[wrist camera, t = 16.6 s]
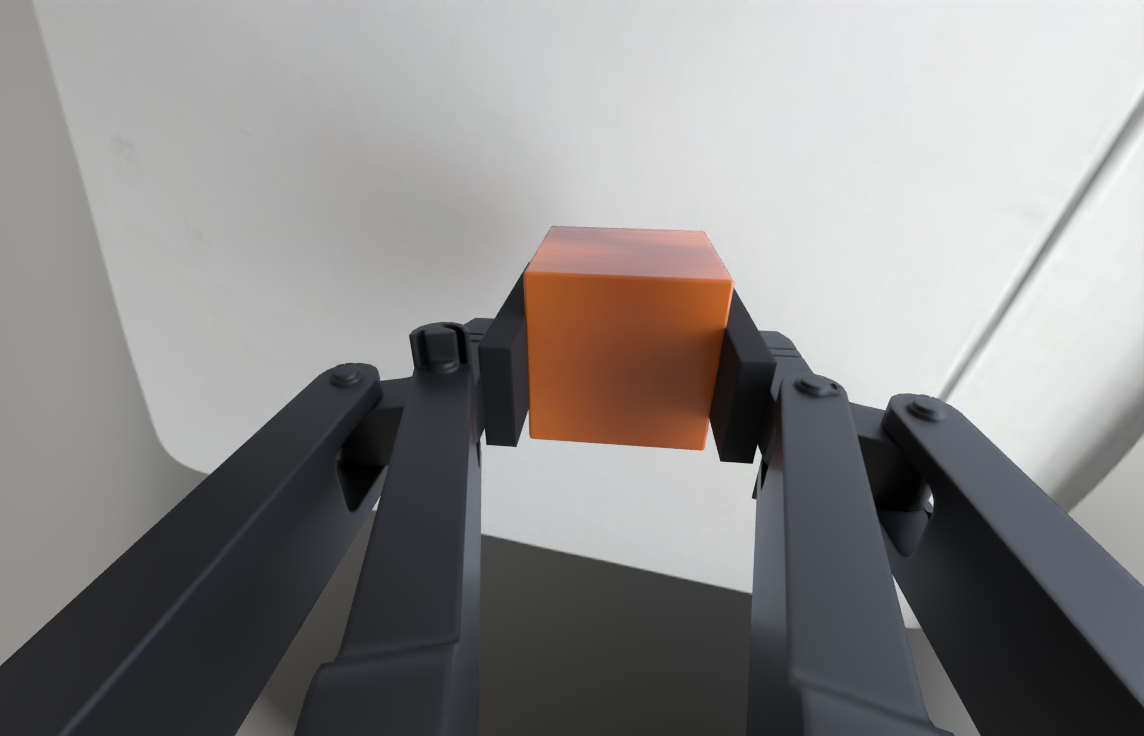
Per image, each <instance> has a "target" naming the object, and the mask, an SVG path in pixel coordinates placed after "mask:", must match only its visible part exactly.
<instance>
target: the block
mask: <svg viewBox="0 0 1144 736" xmlns="http://www.w3.org/2000/svg"><path fill="white" fill-rule="evenodd" d="M523 278H524V304H525V317H526V335H527V362H528V389H529V409H528V410H529V435H530V438H532V439H545V440H559V441H573V442H588V443H602V444H617V445H631V446H645V447H660V448H674V449H689V450H704V448H705V443H706V438H707V432H708V427H709V421H710V419H709V417H710V411H711V406H712V400H713V395H714V389H715V383H716V378H717V372H718V367H719V361H720V355H721V350H722V344H723V339H724V333H725V327H726V326H727V321H728V315H729V310H730V304H731V298H732V293H733V287H734V281H733V279H732V277H731V276H730V274H729V272H728V270H727V269H726V267H725V265H724V264H723V262H722V260H721V259H720V257H719V255H718V254H717V252H716V250H715V249H714V247H713V245H712V244H711V242H710V240H709V239H708V237H707V235H706V233H705V232H703V231H685V230H655V229H626V228H596V227H567V226H552V227H551V228H550V230H549V231H548V233H547V235H546V236H545V238H544V240H543V241H542V243H541V245H540V247H539V248H538V250H537V252H536V253H535V255H534V257H533V258H532V260H531V262H530V263H529V265H528V267H527V268H526V270H525V272H524V274H523Z"/></svg>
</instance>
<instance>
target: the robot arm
mask: <svg viewBox="0 0 1144 736" xmlns="http://www.w3.org/2000/svg"><path fill="white" fill-rule="evenodd" d="M529 263H530V262H529ZM529 263H528V264H527V266H526V268H527V267H528V265H529ZM526 268H525V269H524V271H523V273H522V274H521V276H520V278H519V279H518V281H517V283H516V284H515V286H514V288H513V289H512V291H511V292H510V294H509V296H508V297H507V299H506V301H505V302H504V304H503V306H502V307H501V309H500V311H499V312H498V314H497V316H496V317H495V319H489V318H475V319H473V320H471V321H469V322H468V323H466V324H464V325H462V324H458V323H453V322H439V323H431V324H427V325H424V326H420V327H419V328H417V329H415V330H413V331H412V332H411V334H410V335H409V338H410V344H411V350H412V356H413V362H414V372H413V375H412V377H408V378H402V379H393V380H384V381H380V377H379V372H378V370H377V368H376V367H374V366H372V365H370V364H364V363H345V365H344V364H341V365H337V366H336V367H334V368H331V369H329V370H326V371H325V372H323V373H322V374H320V375H319V376H318V377H317V378H315V379H314V380H313V381H312V382H311V383H310V384H309V385H308V386H307V387H306V388H305V389H303V390H302V391H301V392H300V393H299V394H298V395H297V396H296V397H295V398H294V399H292V400H291V401H290V402H289V403H288V404H287V405H286V406H285V407H284V408H283V409H282V410H280V411H279V412H278V413H277V414H276V415H275V416H274V417H273V418H272V419H271V420H269V421H268V422H267V423H266V424H265V425H264V426H263V427H262V428H261V429H260V430H258V431H257V432H256V433H255V434H254V435H253V436H252V437H251V438H250V439H249V440H248V441H246V442H245V443H244V444H243V445H242V446H241V447H240V448H239V449H238V450H237V451H235V452H234V453H233V454H232V455H231V456H230V457H229V458H228V459H227V460H226V461H225V462H223V463H222V464H221V465H220V466H219V467H218V468H217V469H216V470H215V471H214V472H212V473H211V474H210V475H209V476H208V477H207V478H206V479H205V480H204V481H203V482H201V484H199V485H198V486H197V487H196V488H195V489H194V490H193V491H192V492H191V493H189V494H188V495H187V496H186V497H185V498H184V499H183V500H182V501H181V502H180V503H178V504H177V505H176V506H175V507H174V508H173V509H172V510H171V511H170V512H169V513H168V514H166V515H165V516H164V517H163V518H162V519H161V520H160V521H159V522H158V523H157V524H156V525H154V527H152V528H151V529H150V530H149V531H148V532H147V533H146V534H145V535H143V536H142V537H141V538H140V539H139V540H138V541H137V542H136V543H135V544H134V545H133V546H131V547H130V548H129V549H128V550H127V551H126V552H125V553H124V554H123V555H121V556H120V557H119V558H118V559H117V560H116V561H115V562H114V563H113V564H112V565H111V566H109V568H107V569H106V570H105V571H104V572H103V573H102V574H101V575H100V576H99V577H97V578H96V579H95V580H94V581H93V582H92V583H91V584H90V585H89V586H88V587H86V588H85V589H84V590H83V591H82V592H81V593H80V594H79V595H78V596H77V597H76V598H74V599H73V600H72V601H71V602H70V603H69V604H68V605H67V606H66V607H64V608H63V609H62V610H61V611H60V612H59V613H58V614H57V615H56V616H55V617H54V618H52V620H50V621H49V622H48V623H47V624H46V625H45V626H44V627H43V628H42V629H40V630H39V631H38V632H37V633H36V634H35V635H34V636H33V637H32V638H31V639H30V640H28V641H27V642H26V643H25V644H24V645H23V646H22V647H21V648H20V649H18V650H17V651H16V652H15V653H14V654H13V655H12V656H11V657H10V658H9V659H7V660H6V661H5V662H4V663H3V664H2V665H1V666H0V736H235V734H236V733H237V731H238V729H239V728H240V726H241V725H242V723H243V721H244V719H245V718H246V716H247V715H248V713H249V711H250V710H251V708H252V706H253V705H254V703H255V701H256V700H257V698H258V697H259V695H260V693H261V691H262V690H263V688H264V686H265V685H266V683H267V682H268V680H269V678H270V677H271V675H272V673H273V672H274V670H275V668H276V667H277V665H278V664H279V662H280V660H281V658H282V657H283V655H284V654H285V652H286V650H287V649H288V647H289V645H290V644H291V642H292V640H293V639H294V637H295V635H296V634H297V632H298V630H299V629H300V627H301V626H302V624H303V622H304V621H305V619H306V617H307V616H308V614H309V612H310V611H311V609H312V607H313V606H314V604H315V603H316V601H317V599H318V598H319V596H320V594H321V593H322V591H323V589H324V587H325V586H326V584H327V582H328V581H329V579H330V578H331V576H332V574H333V573H334V571H335V570H336V568H337V566H338V564H339V563H340V561H341V560H342V558H343V556H344V555H345V553H346V551H347V550H348V548H349V546H350V545H351V543H352V541H353V540H354V538H355V537H356V535H357V533H358V532H359V530H360V528H361V526H362V525H363V523H364V522H365V520H366V518H367V517H368V515H369V513H370V512H371V510H372V509H373V507H374V505H375V504H376V502H377V500H378V499H379V497H380V495H381V497H380V500H379V504H378V508H377V512H376V516H375V519H374V523H373V527H372V531H371V534H370V539H369V542H368V546H367V550H366V554H365V557H364V561H363V565H362V569H361V573H360V576H359V580H358V584H357V587H356V591H355V595H354V599H353V603H352V606H351V610H350V614H349V618H348V622H347V625H346V629H345V633H344V637H343V641H342V644H341V647H340V650H339V653H338V655H337V657H336V658H335V660H334V661H333V662H328V663H323V664H321V666H320V667H319V669H318V670H317V671H316V673H315V674H314V676H313V678H312V681H311V683H310V686H309V689H308V691H307V694H306V697H305V700H304V703H303V707H302V710H301V713H300V717H299V720H298V723H297V727H296V730H295V733H294V736H478V729H479V728H478V726H479V723H478V722H479V638H480V636H479V634H480V633H479V632H480V546H481V542H480V541H481V443H480V437H481V435H482V433H483V431H484V428H485V434H486V445H497V446H511V447H517V443H518V440H519V437H520V434H521V431H522V428H523V425H524V421H525V418H526V415H527V412H528V409H529V389H528V362H527V335H526V317H525V304H524V278H523V274H524V272H525V270H526ZM709 419H710V423H711V427H712V431H713V435H714V439H715V442H716V446H717V450H718V454H719V458H720V461H722V462H736V463H750V464H753V460H754V456H755V452H756V448H757V444H758V447H759V449H760V452H761V454H762V459H761V463H760V467H759V471H758V475H757V479H756V483H755V487H754V491H753V495H752V498H753V499H757V504H756V526H755V549H754V571H753V593H752V617H751V638H750V663H749V683H748V705H747V706H748V707H747V728H746V736H954V734H953V733H951V732H948V731H945V730H943V729H940V728H937V727H935V726H934V725H933V723H932V722H931V721H930V719H929V717H928V714H927V711H926V709H925V705H924V701H923V697H922V693H921V689H920V686H919V682H918V677H917V673H916V669H915V665H914V661H913V657H912V653H911V649H910V645H909V641H908V637H907V633H906V629H905V625H904V621H903V617H902V613H901V609H900V605H899V601H898V597H897V593H896V589H895V585H894V581H893V577H892V574H893V576H894V578H895V580H896V582H897V583H898V585H899V587H900V589H901V591H902V593H903V594H904V596H905V598H906V600H907V602H908V604H909V605H910V607H911V609H912V611H913V613H914V615H915V616H916V618H917V620H918V622H919V624H920V626H921V627H922V629H923V631H924V633H925V635H926V636H927V638H928V640H929V642H930V644H931V646H932V647H933V649H934V651H935V653H936V655H937V657H938V658H939V660H940V662H941V664H942V665H943V668H944V669H945V671H946V673H947V675H948V677H949V678H950V680H951V682H952V684H953V686H954V688H955V689H956V691H957V693H958V695H959V697H960V699H961V700H962V702H963V704H964V706H965V708H966V710H967V711H968V713H969V715H970V717H971V719H972V721H973V722H974V724H975V726H976V728H977V730H978V732H979V733H980V735H981V736H1144V587H1143V585H1142V584H1140V583H1139V582H1138V581H1137V580H1136V579H1135V578H1134V577H1133V576H1132V575H1131V574H1130V573H1129V572H1128V571H1127V570H1126V569H1125V568H1124V567H1123V566H1122V565H1120V564H1119V563H1118V562H1117V561H1116V560H1115V559H1114V558H1113V557H1112V556H1111V555H1110V554H1109V553H1108V552H1107V551H1106V550H1105V549H1104V548H1103V547H1102V546H1101V545H1099V544H1098V543H1097V542H1096V541H1095V540H1094V539H1093V538H1092V537H1091V536H1090V535H1089V534H1088V533H1087V532H1086V531H1085V530H1084V529H1083V528H1082V527H1081V526H1080V525H1078V524H1077V523H1076V522H1075V521H1074V520H1073V519H1072V518H1071V517H1070V516H1069V515H1068V514H1067V513H1066V512H1065V511H1064V510H1063V509H1062V508H1061V507H1060V506H1059V505H1057V504H1056V503H1055V502H1054V501H1053V500H1052V499H1051V498H1050V497H1049V496H1048V495H1047V494H1046V493H1045V492H1044V491H1043V490H1042V489H1041V488H1040V487H1039V486H1038V485H1036V484H1035V483H1034V482H1033V481H1032V480H1031V479H1030V478H1029V477H1028V476H1027V475H1026V474H1025V473H1024V472H1023V471H1022V470H1021V469H1020V468H1019V467H1018V466H1016V465H1015V464H1014V463H1013V462H1012V461H1011V460H1010V459H1009V458H1008V457H1007V456H1006V455H1005V454H1004V453H1003V452H1002V451H1001V450H1000V449H999V448H998V447H997V446H995V445H994V444H993V443H992V442H991V441H990V440H989V439H988V438H987V437H986V436H985V435H984V434H983V433H982V432H981V431H980V430H979V429H978V428H977V427H975V426H974V425H973V424H972V423H971V422H970V421H969V420H968V419H967V418H966V417H965V416H964V415H963V414H962V413H961V412H959V411H958V410H956V409H955V408H954V407H952V406H951V405H948V404H946V403H944V402H942V401H941V400H939V399H937V398H934V397H931V398H930V396H927V395H922V394H921V395H917V394H898V395H895V396H892V397H891V399H890V401H889V403H888V406H887V408H886V411H885V410H881V409H876V408H872V407H867V406H863V405H858V404H855V403H851V402H849V400H848V396H847V393H846V391H845V390H844V388H843V387H842V386H841V385H839V384H838V383H837V382H835V381H833V380H831V379H829V378H826V377H824V376H820V375H816V374H814V373H813V372H812V371H811V369H810V368H809V366H808V365H807V363H806V362H805V360H804V359H803V358H802V356H801V354H800V353H799V352H798V351H797V349H796V347H795V346H794V344H793V343H792V341H791V340H790V339H788V338H787V337H785V336H784V335H782V334H780V333H779V332H776V331H758V329H757V327H756V326H755V324H754V322H753V320H752V319H751V317H750V315H749V313H748V312H747V310H746V308H745V306H744V305H743V303H742V301H741V299H740V298H739V296H738V294H737V292H736V291H735V289H734V287H733V293H732V298H731V304H730V310H729V315H728V321H727V326H726V327H725V333H724V339H723V344H722V350H721V355H720V361H719V367H718V372H717V378H716V383H715V389H714V395H713V400H712V406H711V411H710V417H709ZM931 494H932V495H933V499H934V508H933V506H932V505H931V503H930V502H929V501H928V500H929V498H930V496H931Z"/></svg>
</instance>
